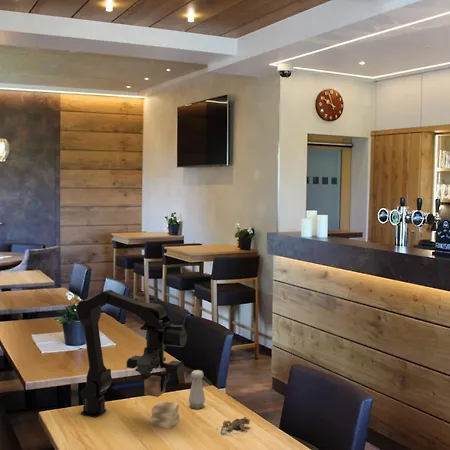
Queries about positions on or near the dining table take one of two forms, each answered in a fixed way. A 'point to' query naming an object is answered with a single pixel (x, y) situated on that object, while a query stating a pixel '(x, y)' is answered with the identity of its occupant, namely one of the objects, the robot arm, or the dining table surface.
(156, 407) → the beech slab upper
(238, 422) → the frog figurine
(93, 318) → the robot arm
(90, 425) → the dining table surface
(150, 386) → the walnut cube
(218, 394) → the dining table surface
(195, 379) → the salt shaker
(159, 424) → the beech slab lower
